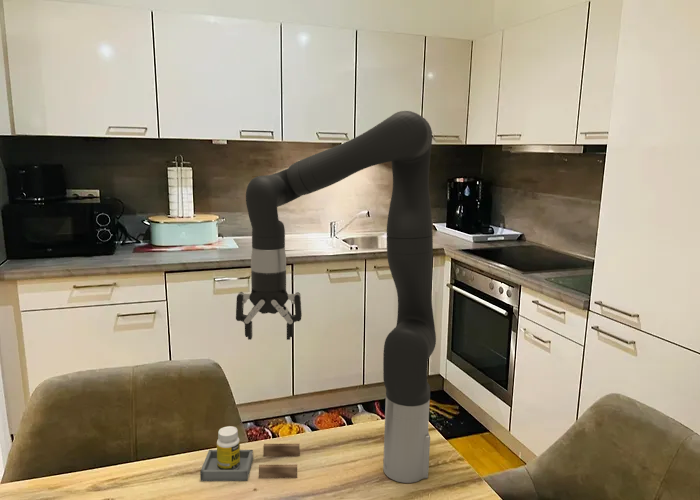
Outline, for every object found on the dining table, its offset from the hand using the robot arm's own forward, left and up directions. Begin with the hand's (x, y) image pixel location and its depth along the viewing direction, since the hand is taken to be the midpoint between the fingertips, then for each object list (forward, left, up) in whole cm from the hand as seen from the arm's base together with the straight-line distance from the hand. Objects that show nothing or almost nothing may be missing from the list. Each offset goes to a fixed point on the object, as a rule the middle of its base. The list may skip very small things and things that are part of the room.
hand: (269, 338), depth 117 cm
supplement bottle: (+8, +9, -26) cm, 28 cm away
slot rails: (-3, +8, -26) cm, 27 cm away
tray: (+8, +9, -26) cm, 29 cm away
